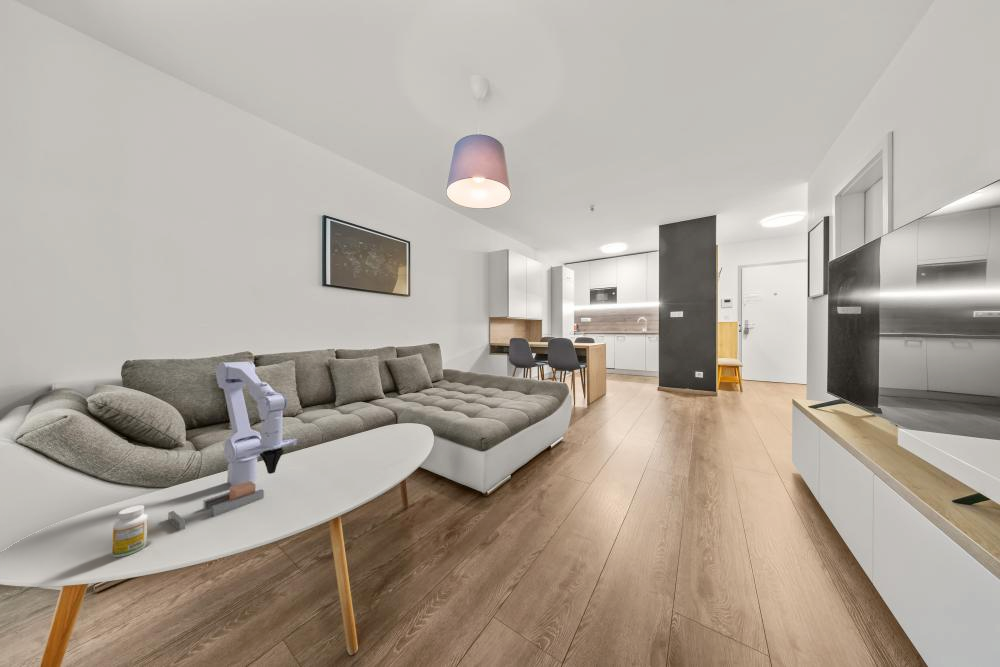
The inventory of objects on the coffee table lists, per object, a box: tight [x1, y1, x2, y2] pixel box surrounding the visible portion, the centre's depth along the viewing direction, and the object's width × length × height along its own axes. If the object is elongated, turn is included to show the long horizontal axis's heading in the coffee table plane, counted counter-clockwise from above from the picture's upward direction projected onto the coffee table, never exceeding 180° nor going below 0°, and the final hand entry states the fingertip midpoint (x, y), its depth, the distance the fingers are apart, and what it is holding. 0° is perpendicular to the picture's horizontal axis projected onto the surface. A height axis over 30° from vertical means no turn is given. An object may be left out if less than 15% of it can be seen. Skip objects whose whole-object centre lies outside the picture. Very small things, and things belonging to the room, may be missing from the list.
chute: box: [167, 488, 265, 532], centre depth 92 cm, size 10×22×4 cm, turn 149°
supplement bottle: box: [111, 504, 149, 558], centre depth 74 cm, size 5×5×10 cm
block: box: [229, 481, 256, 500], centre depth 96 cm, size 4×5×4 cm
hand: (271, 472), depth 102 cm, fingers closed
